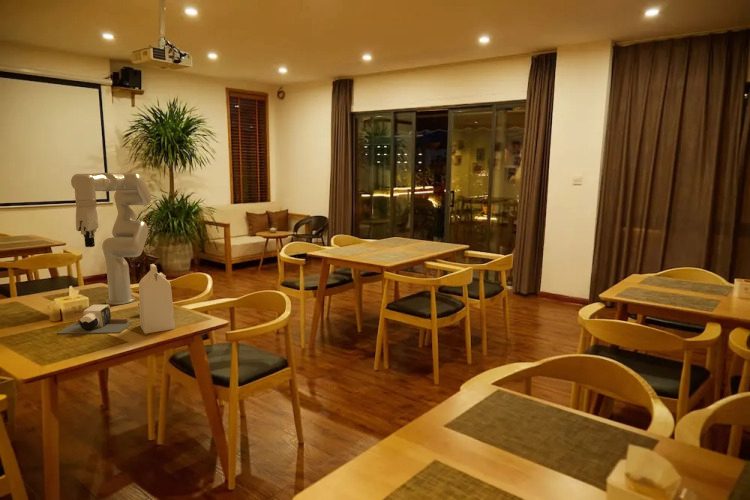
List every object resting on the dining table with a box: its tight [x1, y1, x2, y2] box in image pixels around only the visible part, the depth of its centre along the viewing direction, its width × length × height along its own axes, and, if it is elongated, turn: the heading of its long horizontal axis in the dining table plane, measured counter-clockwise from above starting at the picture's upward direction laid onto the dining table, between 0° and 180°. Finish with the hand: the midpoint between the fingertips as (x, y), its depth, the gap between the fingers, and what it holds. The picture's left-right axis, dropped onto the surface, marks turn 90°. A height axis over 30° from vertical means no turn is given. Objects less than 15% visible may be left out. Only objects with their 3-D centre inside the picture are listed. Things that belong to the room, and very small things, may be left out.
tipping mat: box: [56, 317, 134, 335], centre depth 200 cm, size 13×24×2 cm, turn 94°
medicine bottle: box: [79, 304, 113, 330], centre depth 201 cm, size 7×7×12 cm
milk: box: [138, 263, 176, 334], centre depth 201 cm, size 12×12×26 cm
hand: (90, 246), depth 211 cm, fingers closed
